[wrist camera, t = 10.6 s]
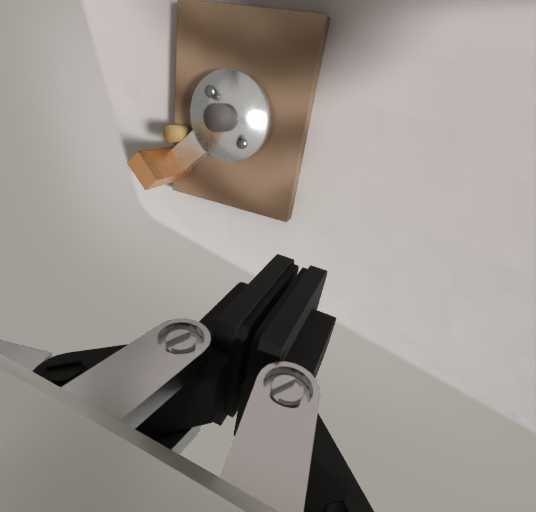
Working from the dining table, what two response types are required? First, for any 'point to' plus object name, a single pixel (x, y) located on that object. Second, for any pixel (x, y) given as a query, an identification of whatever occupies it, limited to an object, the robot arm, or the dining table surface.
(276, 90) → the walnut board
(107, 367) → the robot arm
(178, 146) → the crank handle
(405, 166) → the dining table surface
